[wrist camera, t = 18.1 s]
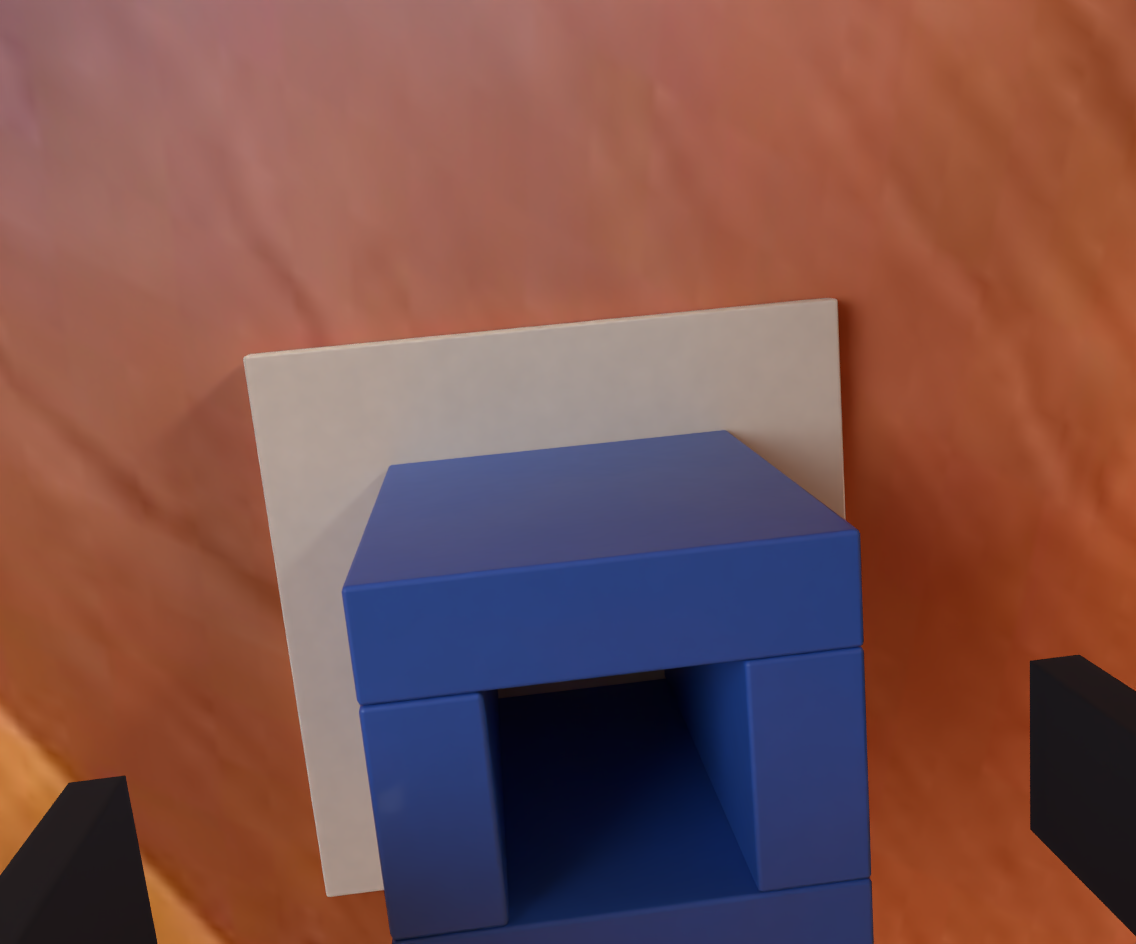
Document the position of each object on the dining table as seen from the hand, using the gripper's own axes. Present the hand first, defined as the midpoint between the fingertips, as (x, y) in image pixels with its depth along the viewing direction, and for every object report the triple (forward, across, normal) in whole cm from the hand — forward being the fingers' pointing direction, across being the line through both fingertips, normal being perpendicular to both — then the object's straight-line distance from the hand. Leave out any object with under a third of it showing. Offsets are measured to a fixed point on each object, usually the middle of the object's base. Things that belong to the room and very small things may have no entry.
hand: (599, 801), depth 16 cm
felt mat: (+8, 0, 0) cm, 8 cm away
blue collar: (+8, 0, 0) cm, 8 cm away
